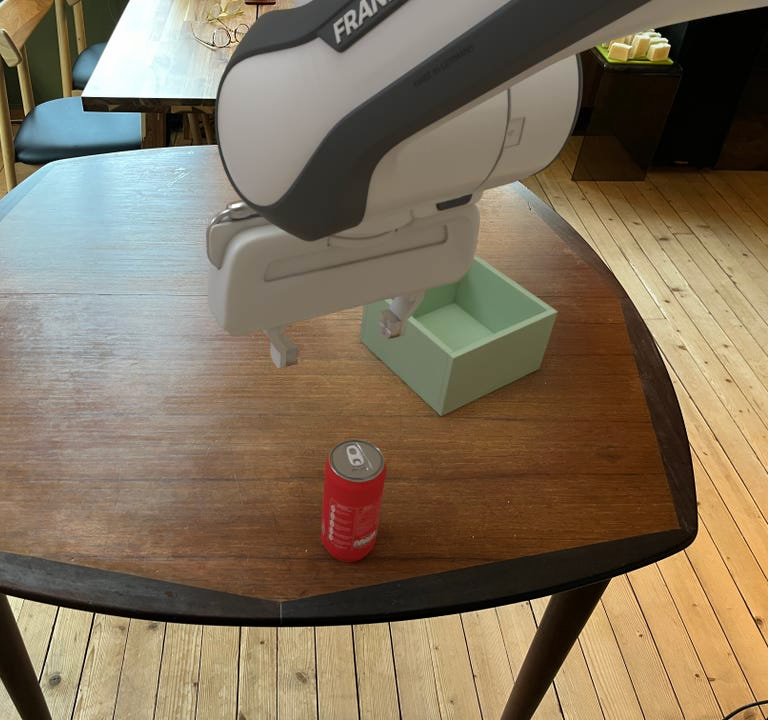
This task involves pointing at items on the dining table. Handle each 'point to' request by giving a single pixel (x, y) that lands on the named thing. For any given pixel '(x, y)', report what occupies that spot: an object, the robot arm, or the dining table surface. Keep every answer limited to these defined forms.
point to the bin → (464, 338)
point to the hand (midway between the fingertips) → (338, 347)
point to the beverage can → (352, 499)
